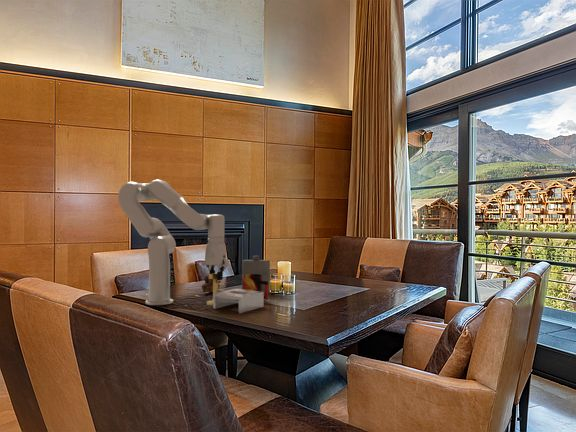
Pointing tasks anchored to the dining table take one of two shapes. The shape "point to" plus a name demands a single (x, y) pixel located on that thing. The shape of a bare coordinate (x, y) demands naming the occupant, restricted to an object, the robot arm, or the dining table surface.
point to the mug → (254, 283)
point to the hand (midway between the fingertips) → (216, 279)
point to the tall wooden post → (215, 286)
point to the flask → (257, 269)
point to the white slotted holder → (239, 299)
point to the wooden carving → (208, 284)
